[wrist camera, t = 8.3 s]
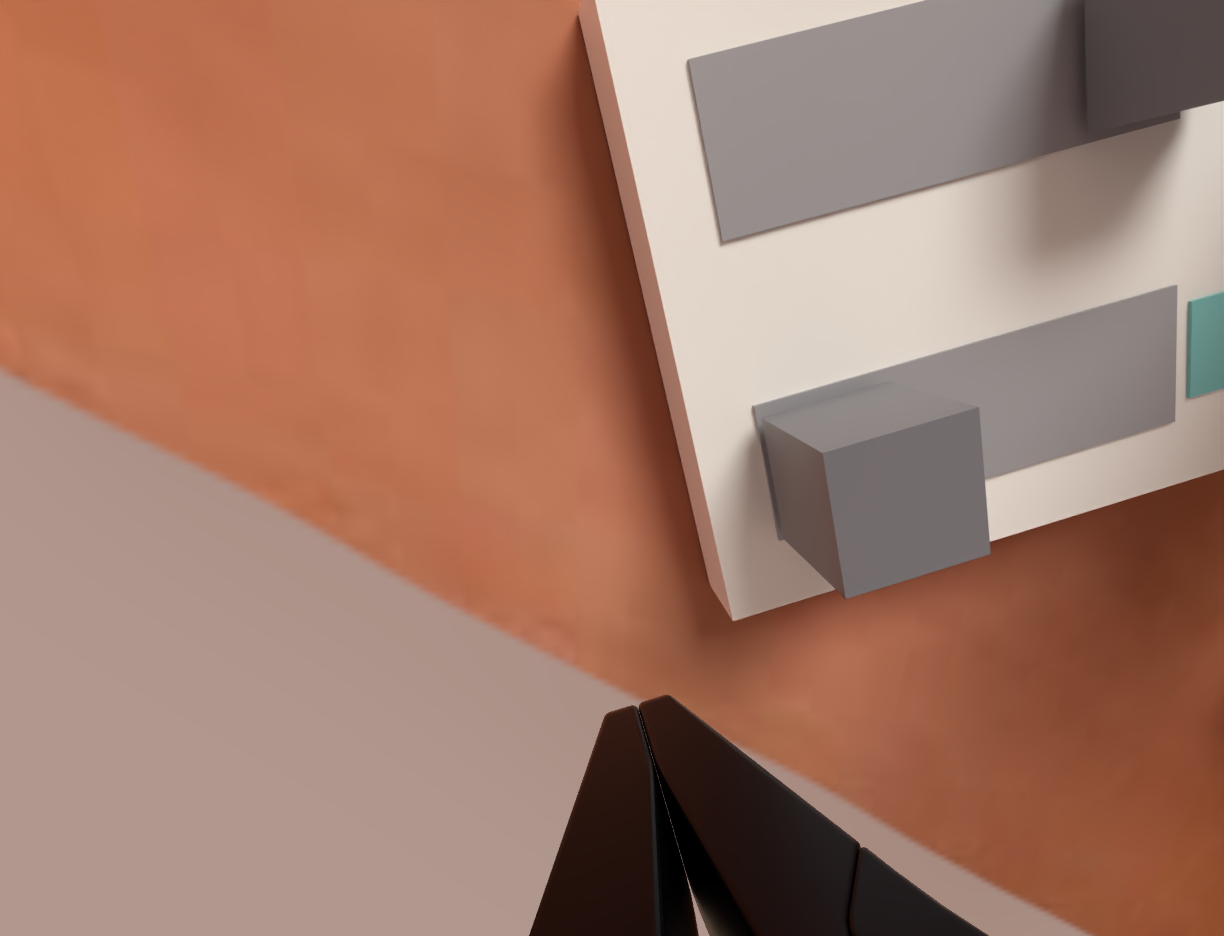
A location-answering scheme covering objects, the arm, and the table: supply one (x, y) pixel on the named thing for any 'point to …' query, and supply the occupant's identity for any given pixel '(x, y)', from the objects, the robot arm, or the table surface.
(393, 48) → the table surface
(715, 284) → the switch panel
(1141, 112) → the tab
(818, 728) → the table surface
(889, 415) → the tab
